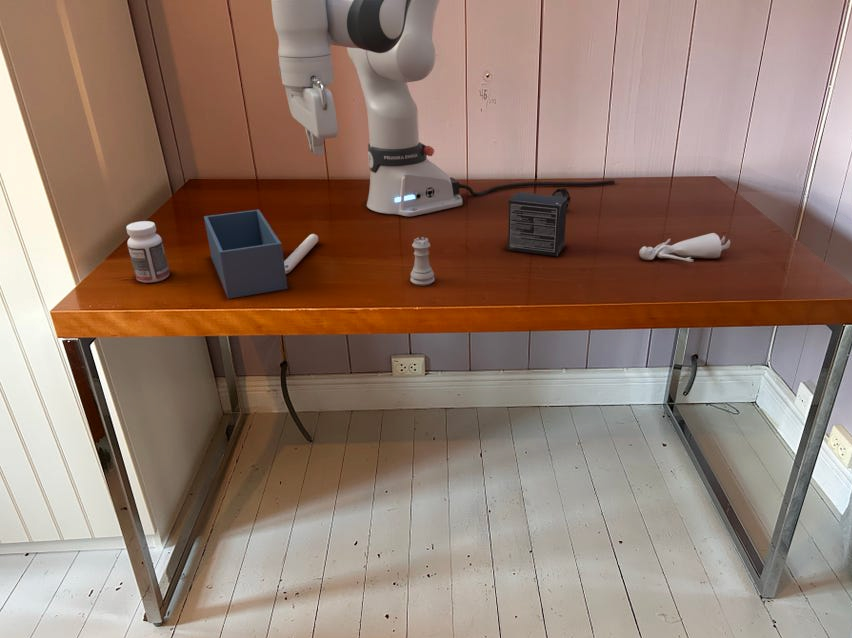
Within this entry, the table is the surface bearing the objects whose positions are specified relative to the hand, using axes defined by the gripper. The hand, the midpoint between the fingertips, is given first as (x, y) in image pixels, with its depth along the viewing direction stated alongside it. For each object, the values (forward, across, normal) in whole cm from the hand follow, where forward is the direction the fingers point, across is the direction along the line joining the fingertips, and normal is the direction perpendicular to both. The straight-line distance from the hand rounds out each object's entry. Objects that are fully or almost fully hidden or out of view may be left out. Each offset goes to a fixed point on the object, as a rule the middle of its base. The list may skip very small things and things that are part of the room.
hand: (317, 153), depth 131 cm
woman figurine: (+22, -29, -63) cm, 72 cm away
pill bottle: (+20, +3, +32) cm, 38 cm away
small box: (+21, -13, -39) cm, 46 cm away
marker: (+20, +1, +6) cm, 21 cm away
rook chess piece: (+20, -19, -12) cm, 30 cm away
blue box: (+20, -2, +16) cm, 25 cm away
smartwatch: (+22, +6, -56) cm, 60 cm away
